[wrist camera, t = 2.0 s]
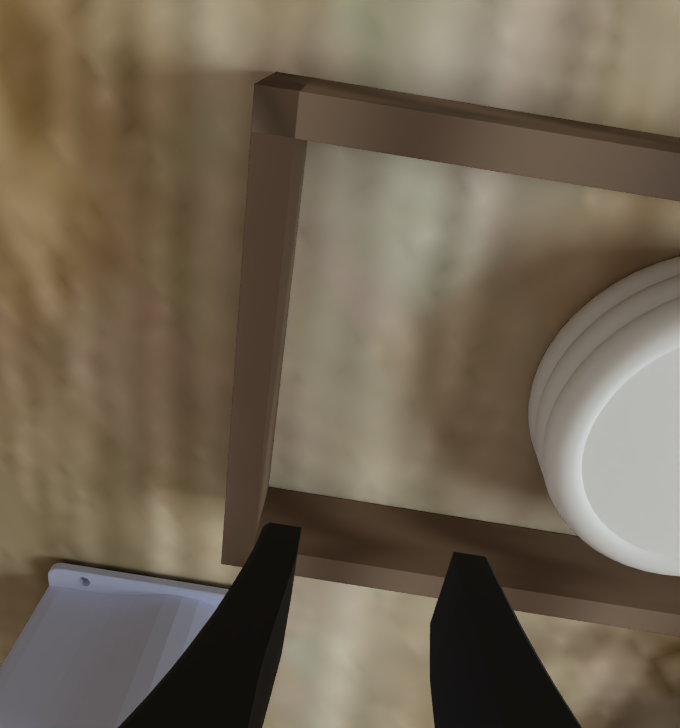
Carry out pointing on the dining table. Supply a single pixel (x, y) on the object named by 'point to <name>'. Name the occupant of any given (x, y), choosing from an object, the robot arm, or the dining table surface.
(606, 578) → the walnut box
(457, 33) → the dining table surface
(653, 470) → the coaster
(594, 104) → the dining table surface
